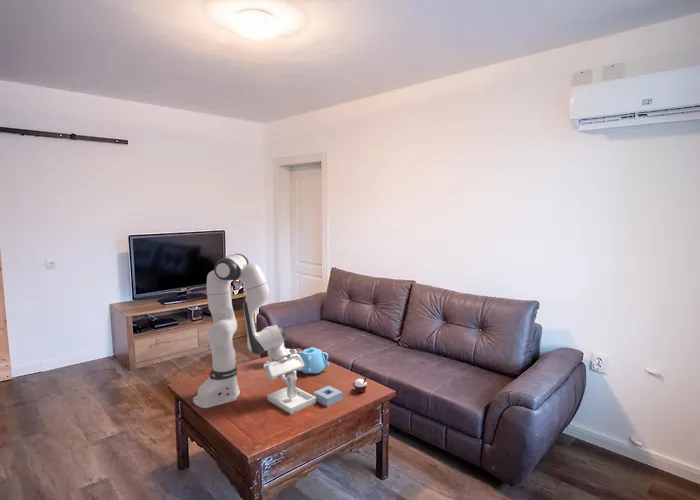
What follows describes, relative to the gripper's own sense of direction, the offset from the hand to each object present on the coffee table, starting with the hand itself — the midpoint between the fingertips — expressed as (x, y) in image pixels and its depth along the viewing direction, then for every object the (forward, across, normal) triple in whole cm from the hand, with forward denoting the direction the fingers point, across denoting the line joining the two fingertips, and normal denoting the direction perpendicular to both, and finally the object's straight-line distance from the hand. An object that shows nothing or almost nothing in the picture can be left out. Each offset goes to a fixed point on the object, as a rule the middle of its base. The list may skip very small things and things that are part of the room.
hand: (292, 381), depth 195 cm
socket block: (+15, +14, 0) cm, 20 cm away
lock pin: (+5, 0, +6) cm, 8 cm away
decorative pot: (-8, +31, +24) cm, 40 cm away
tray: (+7, 0, +8) cm, 10 cm away
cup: (-24, +21, +39) cm, 50 cm away
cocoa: (+18, +32, -3) cm, 37 cm away
